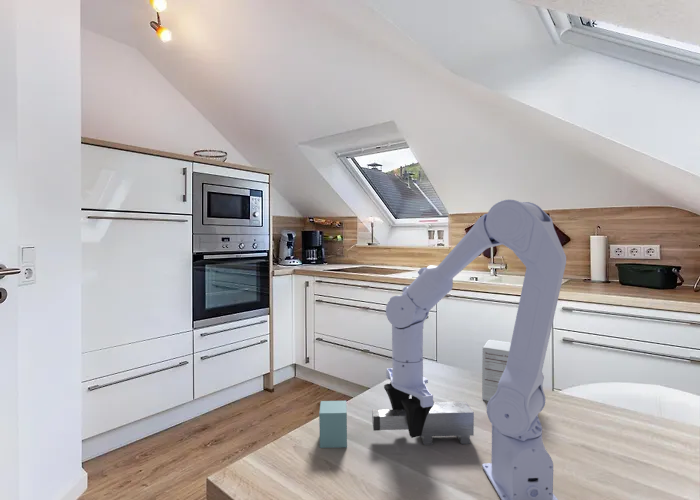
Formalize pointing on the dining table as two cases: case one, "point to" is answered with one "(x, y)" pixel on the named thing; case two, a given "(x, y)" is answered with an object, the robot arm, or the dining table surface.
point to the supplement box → (493, 366)
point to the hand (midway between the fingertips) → (407, 428)
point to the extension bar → (389, 420)
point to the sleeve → (449, 422)
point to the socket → (333, 424)
